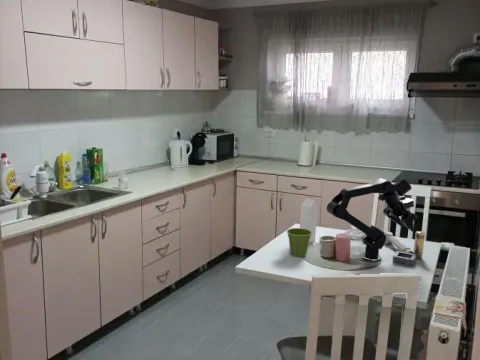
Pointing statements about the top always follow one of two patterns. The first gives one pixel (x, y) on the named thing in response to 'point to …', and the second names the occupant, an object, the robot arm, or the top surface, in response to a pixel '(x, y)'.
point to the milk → (309, 217)
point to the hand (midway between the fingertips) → (406, 228)
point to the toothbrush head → (396, 243)
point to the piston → (419, 244)
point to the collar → (404, 258)
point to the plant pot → (298, 241)
